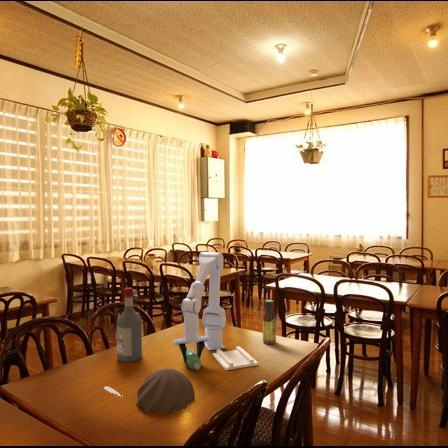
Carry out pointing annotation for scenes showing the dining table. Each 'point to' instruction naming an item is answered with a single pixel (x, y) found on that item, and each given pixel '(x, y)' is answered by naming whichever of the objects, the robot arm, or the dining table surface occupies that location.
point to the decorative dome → (165, 391)
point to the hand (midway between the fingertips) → (191, 360)
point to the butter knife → (111, 390)
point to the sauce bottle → (269, 323)
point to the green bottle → (193, 359)
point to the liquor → (129, 331)
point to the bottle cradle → (234, 359)
